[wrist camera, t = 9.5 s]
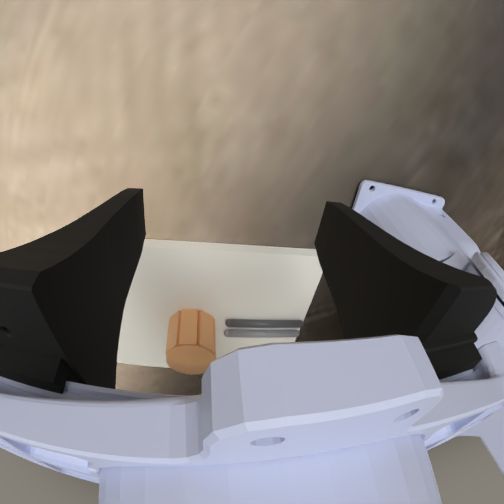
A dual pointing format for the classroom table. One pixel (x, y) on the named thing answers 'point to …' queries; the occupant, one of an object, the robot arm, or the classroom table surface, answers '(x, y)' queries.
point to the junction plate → (216, 295)
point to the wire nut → (191, 341)
